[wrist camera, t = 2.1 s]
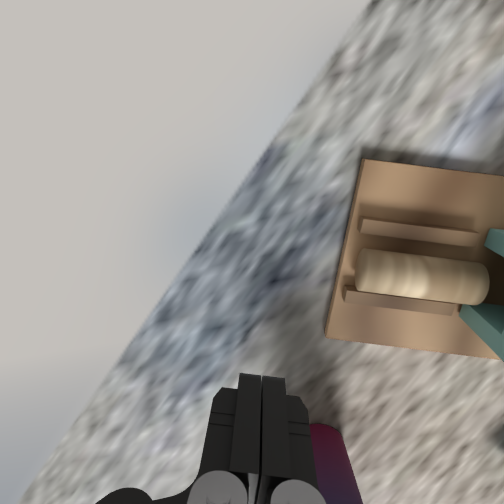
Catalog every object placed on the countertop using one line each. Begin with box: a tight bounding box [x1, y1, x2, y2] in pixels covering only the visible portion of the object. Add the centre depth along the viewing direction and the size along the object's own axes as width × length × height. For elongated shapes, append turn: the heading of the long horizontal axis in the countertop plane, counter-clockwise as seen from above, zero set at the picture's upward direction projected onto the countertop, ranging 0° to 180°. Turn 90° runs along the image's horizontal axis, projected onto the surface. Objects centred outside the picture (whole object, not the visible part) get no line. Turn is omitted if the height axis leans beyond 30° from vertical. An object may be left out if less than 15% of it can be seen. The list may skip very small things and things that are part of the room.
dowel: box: [355, 248, 490, 305], centre depth 25 cm, size 8×3×3 cm, turn 83°
